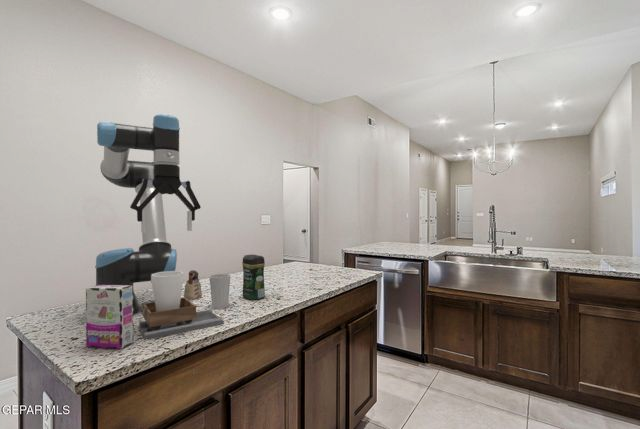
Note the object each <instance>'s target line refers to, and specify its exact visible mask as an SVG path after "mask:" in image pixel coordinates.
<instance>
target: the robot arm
mask: <svg viewBox="0 0 640 429" xmlns="http://www.w3.org/2000/svg"><path fill="white" fill-rule="evenodd" d="M152 120H153V121H152V122H153V123H152V127H146V126H138V125H130V124H122V123H115V122H111V121H110V122H103V121H101V122H100V121H99V122H98V123H97V125H96V129H97V131H96V132H97V133H96V136H97V137H96V138H97V140H96V142H97V144H98V146H100V147H103V159H102V160H101V163H100V165H99V166H100V172H101V174H102V176H103V177H104V178H105V180H107V181H109V182H110V183H111V184H113V185H115V186H118V187H120V188H129V189H134V190H135V193H136V195H135V197H134V199H133V200H132V203H131V204H130V206H129V208H130V209H131V210H134V211H136V212H137V213H136V214H137V215H136V218H137V222H140V226H141V227H140V228H141V229H140V230H141V235H142V237H141V238H142V244H141V245H140V246H138V250H137V251H135V250H134V249H133V248H132V247H127V248H126V247H125V248H117V249H112V250H107V251H104V252H101V253H98V254H97V255H96V258H95V286H96V285H133V286H134V284H135V283H144V282H145V283H146V282H151V275H152V274H154V273H158V272H166V271H176V270H177V269H176V268H177V262H178V261H177V260H178V258H177V257H178V254H177V249H176V248H172V245H171V243H170V242H168V241H167V232H166V231H167V230H166V222H165V221H166V220H165V212H164V202H163V195H166V194H167V195H175V197H177V198H179V200H180V201H181V202H182V203H183V204H184V206H185V207H186V208H187V209H188V210H187V212H186V215H187V217H186V222H187V223H186V225H187V226H186V229H187V230H186V231H189V232H193V223H192V222H194V221H195V219H196V217H195V216H196V211H197V210H200V209H201V208H202V207H201V205H200V203H199V200H198V199H197V197H196V195H195V193H194V191H193V189H192V187H191V186H192V185H191V181H190V180H186V181H181V179H180V178H181V176H180V175H181V173H180V168H181V167H180V166H179V165H180V130H181V127H180V120H179V119H178V118H177V117H176V116H174V115H172V114H171V115H170V114H161V113H160V114H156V115H154V116H153V119H152ZM130 149H131V150H140V151H150V152H151V151H152V152H153V161H140V160H139V161H138V160H129V155H130ZM181 186H182V187H183V188H184V189H185V191H186V193H187V195H188V197H189V199H190V201H189V200H188V198H187V197H186V196H185V195H184V194H183V192H182V191H181V190H180V189H179V188H180V187H181ZM191 202H192V203H191ZM138 204H139V206H138ZM139 311H140V303H139V301H138V298H137V296H136V293H135V290H134V288H133V315H135V314H136V313H138V312H139Z"/></svg>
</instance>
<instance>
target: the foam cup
mask: <svg viewBox="0 0 640 429" xmlns="http://www.w3.org/2000/svg"><path fill="white" fill-rule="evenodd" d="M184 274H185V273H184V271H182V270H175V271H166V272H158V273H154V274H152V275H151V281H150V283H151V285H152V286H151V287H152V293H153V299H154V302H155V306H156V312H160V311H166V310H172V309H178V308H180V300H181V298H182V292H183V290H182V289H183V282H184V279H185V277H184V276H185V275H184Z"/></svg>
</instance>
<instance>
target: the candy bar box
mask: <svg viewBox="0 0 640 429" xmlns="http://www.w3.org/2000/svg"><path fill="white" fill-rule="evenodd" d="M133 289H134V284H133V285H96V284H95V285H93V286H90V287H86V288H85V317H86V318H85V320H86V321H85V326H86V328H85V330H86V334H85V336H86V340H85V341H86V345H85V346H86V348H99V349H117V350H121V349H124V348H126V347H128V346H130V345H132V344H134V342H135V338H134V337H135V336H134V335H135V334H134V333H135V332H134V314H133Z"/></svg>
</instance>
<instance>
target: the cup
mask: <svg viewBox="0 0 640 429" xmlns="http://www.w3.org/2000/svg"><path fill="white" fill-rule="evenodd" d="M208 277H209V286H210V296H211V297H210V298H211V309H217V310H218V309H219V310H220V309H225V308H228V307H229V300H230V299H229V297H230V285H231V283H230V282H231V274H229V273H216V274H211V275H209V276H208Z"/></svg>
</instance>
